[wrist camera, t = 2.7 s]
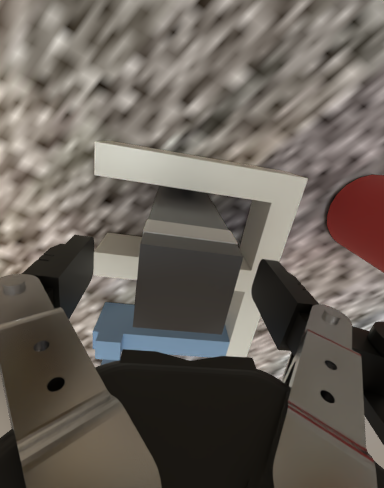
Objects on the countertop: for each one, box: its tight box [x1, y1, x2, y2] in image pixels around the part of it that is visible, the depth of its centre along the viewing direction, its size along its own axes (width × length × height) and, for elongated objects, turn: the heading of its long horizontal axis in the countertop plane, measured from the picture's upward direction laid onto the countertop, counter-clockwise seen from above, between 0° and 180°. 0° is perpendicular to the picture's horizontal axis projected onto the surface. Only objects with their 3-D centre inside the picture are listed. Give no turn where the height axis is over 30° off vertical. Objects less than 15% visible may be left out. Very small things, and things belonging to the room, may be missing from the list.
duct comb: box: [93, 141, 308, 365], centre depth 22 cm, size 14×24×5 cm, turn 170°
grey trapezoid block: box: [133, 185, 244, 335], centre depth 15 cm, size 4×4×12 cm
